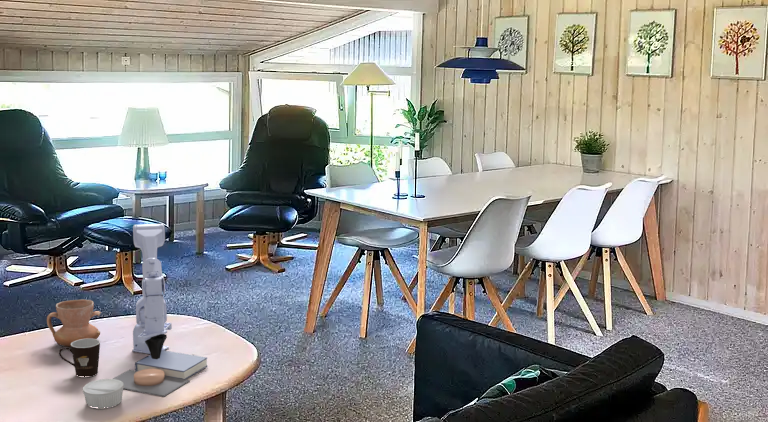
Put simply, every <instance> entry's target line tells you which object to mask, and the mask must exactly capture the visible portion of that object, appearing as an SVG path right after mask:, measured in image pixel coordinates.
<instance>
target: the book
mask: <svg viewBox="0 0 768 422" xmlns="http://www.w3.org/2000/svg"><path fill="white" fill-rule="evenodd" d="M207 360H208V357H206V356H200V355H194V354H188V353H182V352H176V351H171V350H161V355H160V358H159V359H152V357H151V354H148V355H146V356H145V357H143V358H141V359H139V360H137V361H135V362H134V370H135V371H140V370H144V369H159V370H162V371H164V375H165V376H169V377H175V378H180V379H186V380H188V379H189V378H191V377H192V376H194V375H196V374H198V373H199V372H200V371H202V370H204V369H206V368H207V367H208V361H207Z"/></svg>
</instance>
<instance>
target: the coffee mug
mask: <svg viewBox="0 0 768 422" xmlns="http://www.w3.org/2000/svg"><path fill="white" fill-rule="evenodd" d="M100 345H101V341H100V339H98V338H97V339H80V340H76V341H74V342H72V343H71V347H66V346H62V348H61V349H59V351H58V355H59V357H60V358H61V359H62V360H63V361H65V362H66V363H67V364H70V365H71V366H73V367H74V370H75V371H74V372H75V376H76V375H78V376H84V377H85V376H92V377H94V376H93V375H95V374H97V373H99V364H100V363H99V361H100V360H99V359H100V351H101V350H100V348H101V347H100ZM63 350H68V351H69V352H70V353H71V355H72V359H73V362H71V361H69V360H68V359H66V358H65V357H64V356H63V355H62V354H61V353H62V351H63ZM97 375H98V374H97ZM95 376H96V375H95Z"/></svg>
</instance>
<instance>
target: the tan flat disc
mask: <svg viewBox="0 0 768 422" xmlns="http://www.w3.org/2000/svg"><path fill="white" fill-rule="evenodd" d="M164 380H165V375H164V371H162V370H159V369H144V370H140V371H138V372H136V373H135V374H134V383H135V384H137V385H140V386H153V385H157V384H160V383H162V382H163V381H164Z"/></svg>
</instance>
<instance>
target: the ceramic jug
mask: <svg viewBox="0 0 768 422" xmlns="http://www.w3.org/2000/svg"><path fill="white" fill-rule="evenodd" d="M94 304H95V303H94V301H93V300H91V299H72V300H63V301H60V302H58V303H56V304H55V309H56V312H55V311H53V312H50V313H49V314H48V315H47V316H46V324H47V326H48V329H49V330H50V331H51V334H52V336H53V339H54V342H56V343H57V344H58V345H59V346H62V347H68V348H71V343H72V342H74V341H76V340H80V339H97V340H98V338H99V337H100V335H101V331H100V330H99V329H98V328H97V327H96V326H95V325H92V324H91V323H89V322H90V320H91V319H92V318H93V317H94V316H98V317H100V315H101V313H102V312H101V311H99V310H95V311H94V308H95V307H94ZM53 317H54V318H56V319H58V320H60V322H61V324H62V326H61V327H60V328H59V329H58V330H56V329H54V326H53V324H52V318H53Z"/></svg>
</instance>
